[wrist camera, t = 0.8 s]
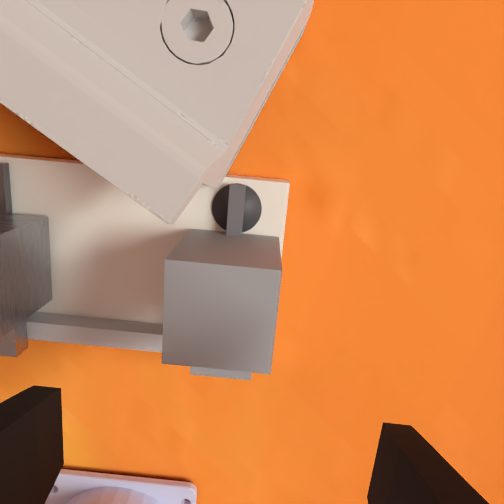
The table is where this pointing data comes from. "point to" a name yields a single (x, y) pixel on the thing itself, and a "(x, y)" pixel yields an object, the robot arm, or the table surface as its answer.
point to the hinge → (147, 84)
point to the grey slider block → (21, 269)
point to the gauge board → (159, 267)
